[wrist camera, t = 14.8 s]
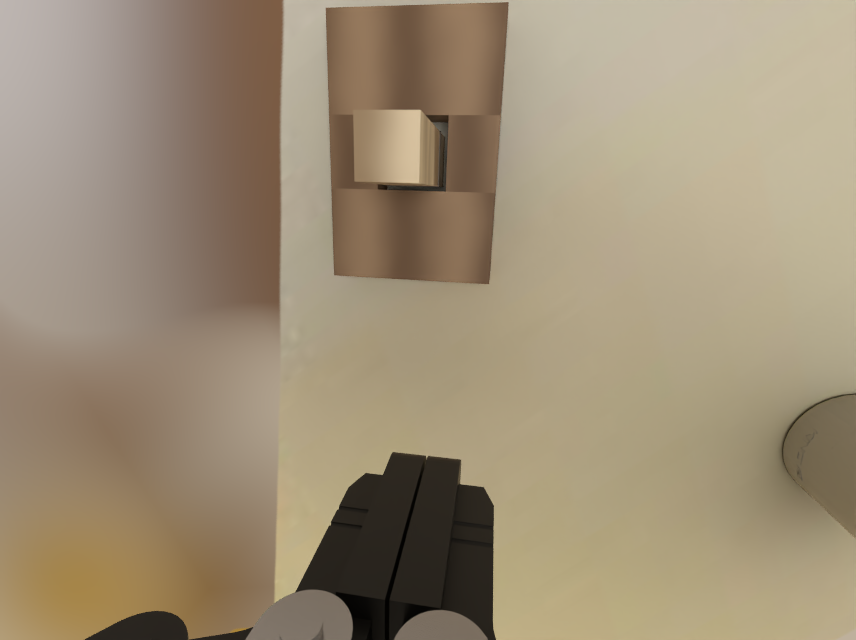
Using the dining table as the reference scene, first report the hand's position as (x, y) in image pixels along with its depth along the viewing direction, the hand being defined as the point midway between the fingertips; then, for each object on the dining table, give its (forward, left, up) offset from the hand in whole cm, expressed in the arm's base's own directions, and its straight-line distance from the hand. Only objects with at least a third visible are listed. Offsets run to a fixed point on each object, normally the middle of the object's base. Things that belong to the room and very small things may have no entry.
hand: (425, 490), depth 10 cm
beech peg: (+5, -9, -27) cm, 29 cm away
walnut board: (+5, -9, -27) cm, 29 cm away
